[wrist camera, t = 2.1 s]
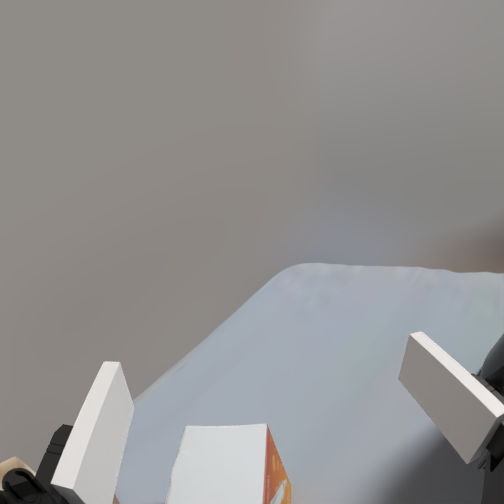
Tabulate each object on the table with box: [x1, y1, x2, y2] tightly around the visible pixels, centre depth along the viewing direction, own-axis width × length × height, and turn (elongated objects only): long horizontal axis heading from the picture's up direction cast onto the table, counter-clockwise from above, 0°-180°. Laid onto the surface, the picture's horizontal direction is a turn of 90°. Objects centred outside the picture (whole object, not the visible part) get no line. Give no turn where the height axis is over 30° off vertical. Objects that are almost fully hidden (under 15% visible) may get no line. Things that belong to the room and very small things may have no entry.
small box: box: [165, 424, 291, 504], centre depth 18 cm, size 8×6×13 cm
